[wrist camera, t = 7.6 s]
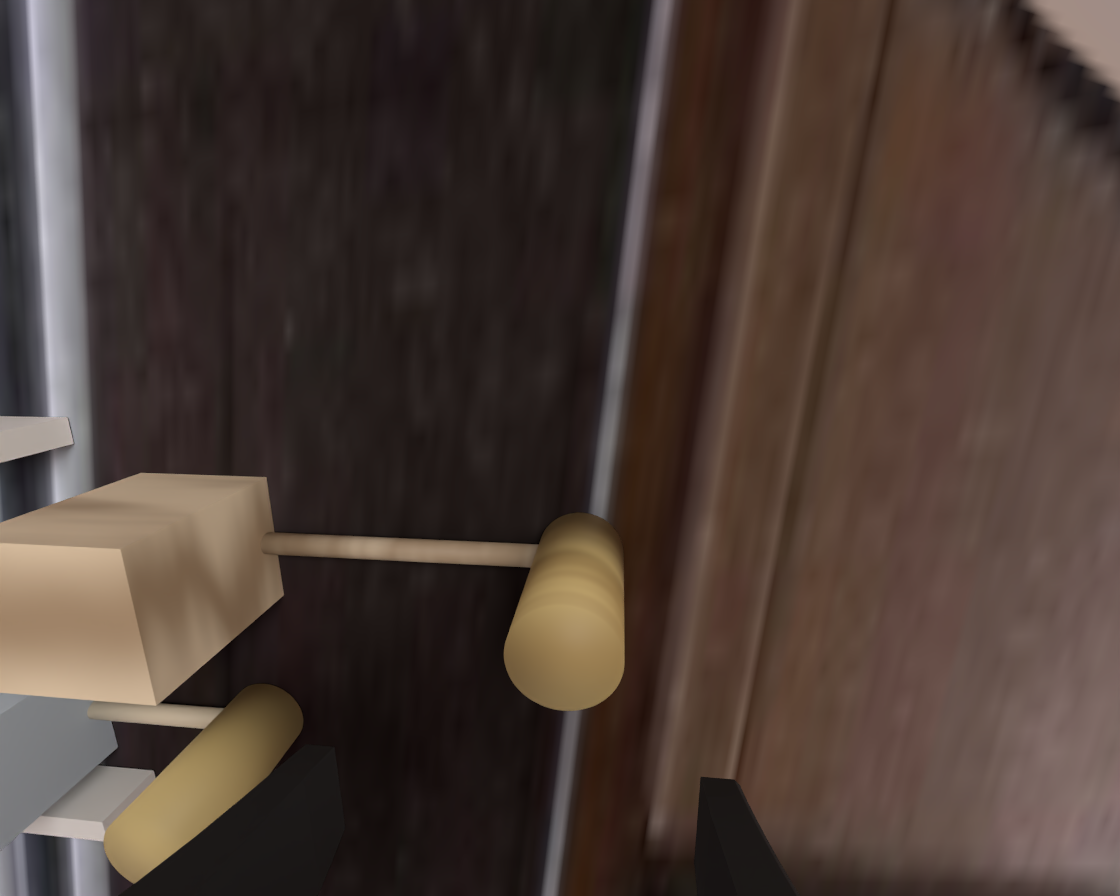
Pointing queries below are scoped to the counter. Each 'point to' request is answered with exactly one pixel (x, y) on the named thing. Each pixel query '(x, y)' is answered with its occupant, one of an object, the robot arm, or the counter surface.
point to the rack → (104, 786)
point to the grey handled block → (173, 797)
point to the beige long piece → (259, 590)
